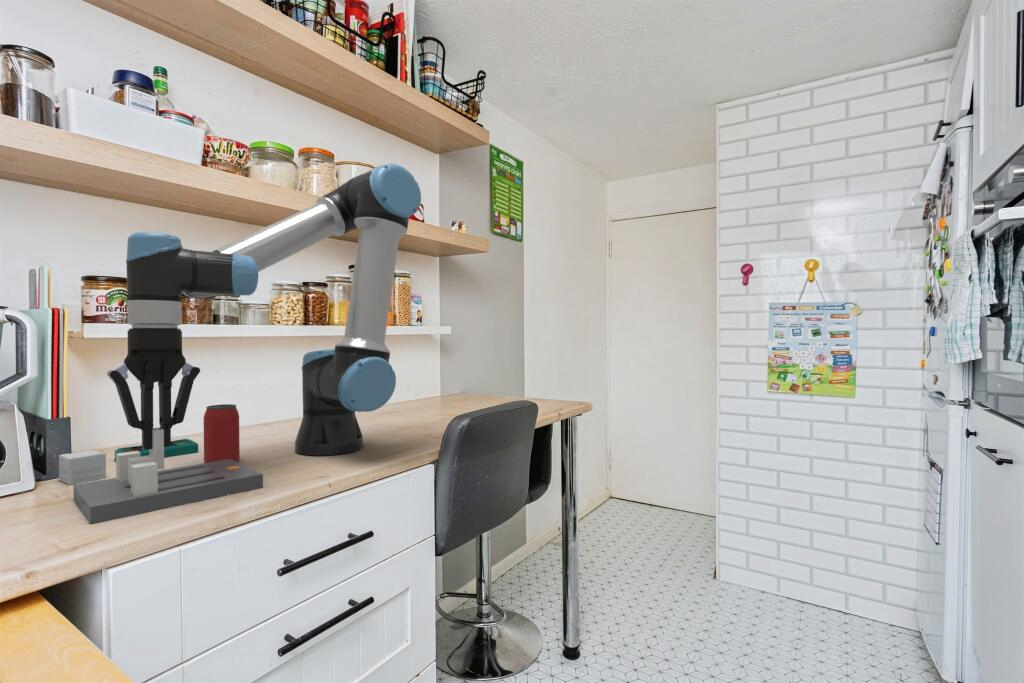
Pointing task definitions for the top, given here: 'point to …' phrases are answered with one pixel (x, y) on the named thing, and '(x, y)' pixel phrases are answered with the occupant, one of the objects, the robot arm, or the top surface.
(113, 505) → the breaker panel
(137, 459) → the handle
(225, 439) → the beer can
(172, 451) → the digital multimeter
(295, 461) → the top surface
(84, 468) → the small box
